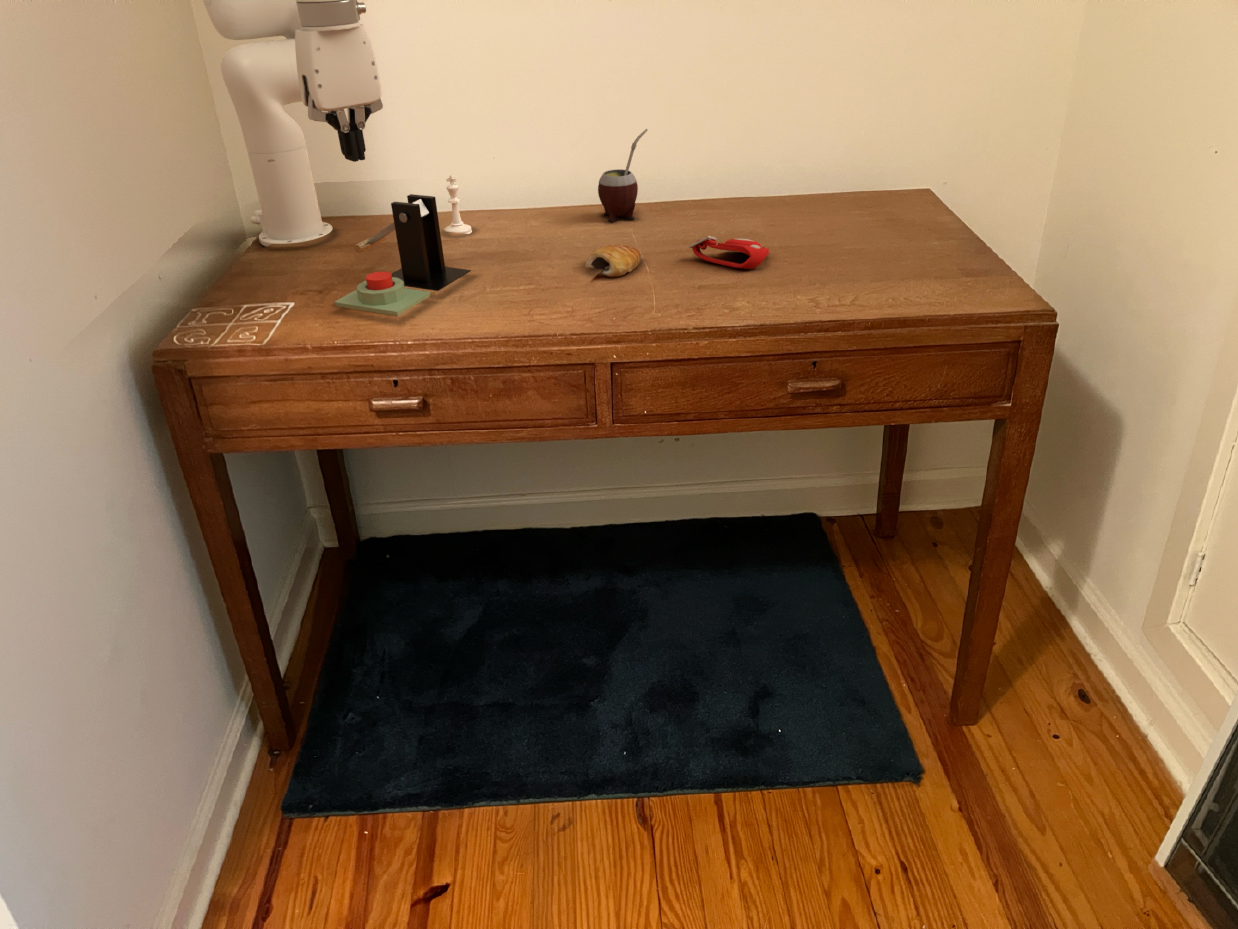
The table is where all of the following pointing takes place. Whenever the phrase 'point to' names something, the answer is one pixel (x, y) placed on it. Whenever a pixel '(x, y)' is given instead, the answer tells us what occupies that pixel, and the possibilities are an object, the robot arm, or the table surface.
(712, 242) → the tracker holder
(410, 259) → the bracket
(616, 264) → the pastry
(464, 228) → the chess piece
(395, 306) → the button box
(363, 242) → the lever
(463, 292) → the table surface
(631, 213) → the mate gourd
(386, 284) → the button
